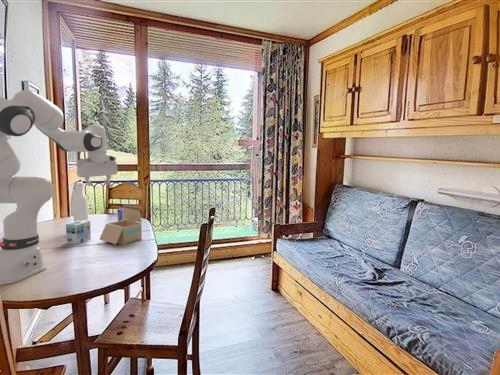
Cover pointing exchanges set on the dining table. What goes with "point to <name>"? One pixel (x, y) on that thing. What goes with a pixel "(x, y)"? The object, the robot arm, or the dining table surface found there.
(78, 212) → the bottle
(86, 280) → the dining table surface
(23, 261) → the robot arm
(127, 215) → the flap
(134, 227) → the carton
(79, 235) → the light bulb box
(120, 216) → the ink cartridge box
